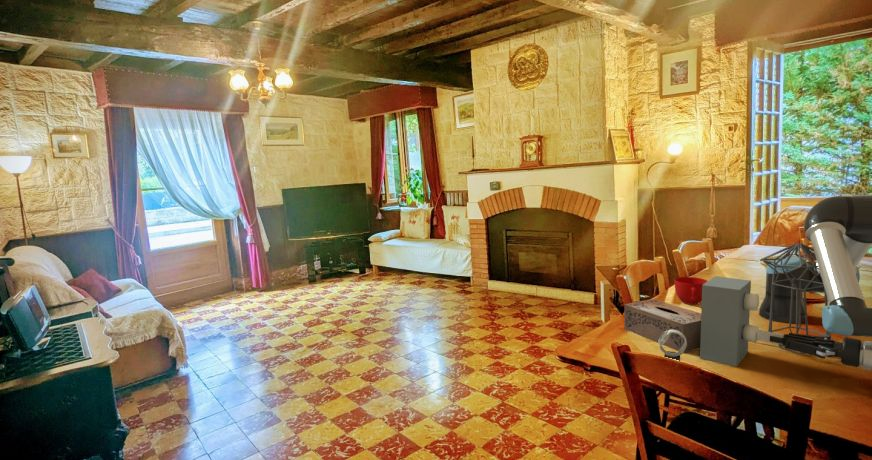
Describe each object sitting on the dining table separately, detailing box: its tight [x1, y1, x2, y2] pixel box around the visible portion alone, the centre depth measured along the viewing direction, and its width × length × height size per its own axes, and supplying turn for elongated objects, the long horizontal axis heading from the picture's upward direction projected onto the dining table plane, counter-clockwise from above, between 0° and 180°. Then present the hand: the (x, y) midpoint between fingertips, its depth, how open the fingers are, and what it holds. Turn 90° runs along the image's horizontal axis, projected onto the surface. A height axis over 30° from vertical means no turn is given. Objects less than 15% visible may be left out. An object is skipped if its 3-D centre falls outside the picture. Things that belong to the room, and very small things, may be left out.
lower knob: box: [742, 324, 760, 344], centre depth 147 cm, size 9×5×5 cm, turn 45°
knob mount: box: [699, 275, 752, 368], centre depth 149 cm, size 10×14×24 cm
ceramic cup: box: [674, 276, 709, 306], centre depth 204 cm, size 13×17×10 cm
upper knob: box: [743, 292, 760, 312], centre depth 145 cm, size 9×5×5 cm, turn 45°
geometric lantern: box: [759, 242, 832, 355], centre depth 151 cm, size 16×16×35 cm
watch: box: [658, 329, 687, 362], centre depth 145 cm, size 6×8×11 cm
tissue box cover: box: [623, 298, 701, 354], centre depth 168 cm, size 26×14×10 cm, turn 22°
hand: (757, 334), depth 143 cm, fingers closed
